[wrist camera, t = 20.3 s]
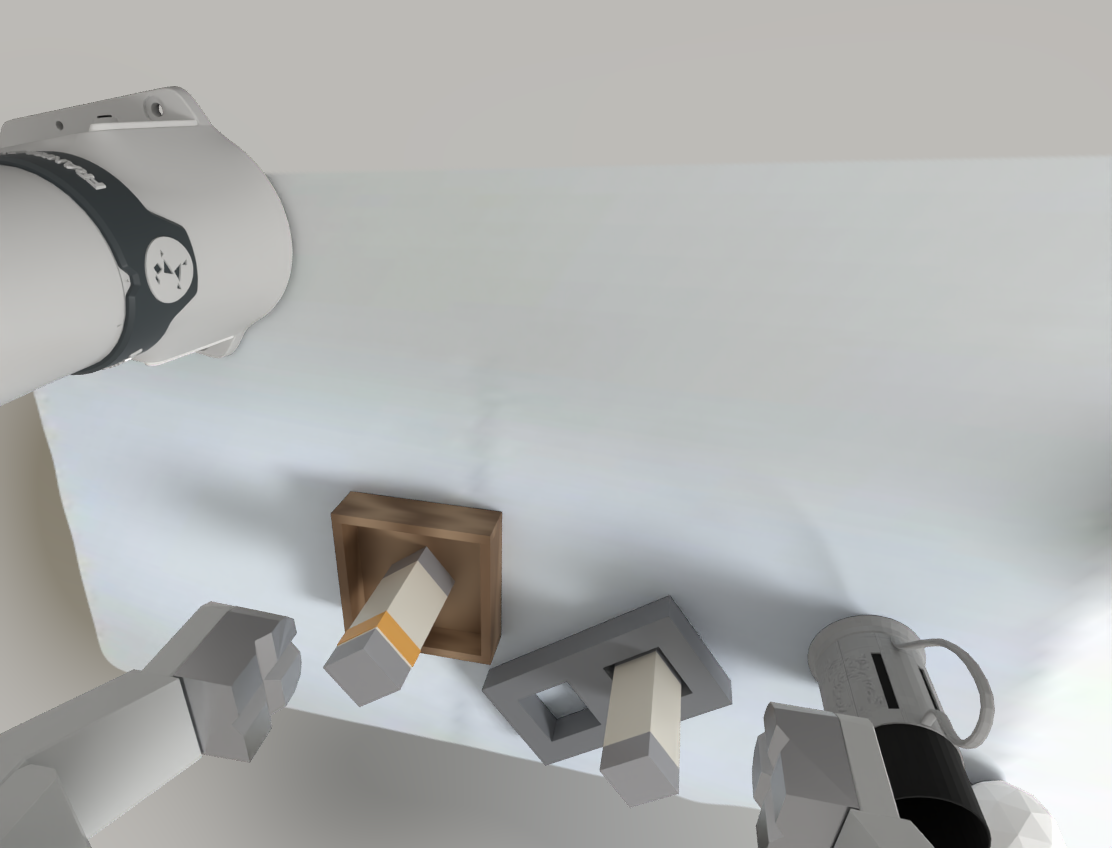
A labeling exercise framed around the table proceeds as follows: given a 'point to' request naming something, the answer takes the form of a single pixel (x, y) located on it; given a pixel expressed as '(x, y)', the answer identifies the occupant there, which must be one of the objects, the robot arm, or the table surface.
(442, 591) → the block
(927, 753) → the grey mug
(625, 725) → the block
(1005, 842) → the ball
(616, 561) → the table surface
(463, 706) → the table surface
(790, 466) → the table surface
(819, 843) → the robot arm
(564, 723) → the fuse block
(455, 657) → the tray
